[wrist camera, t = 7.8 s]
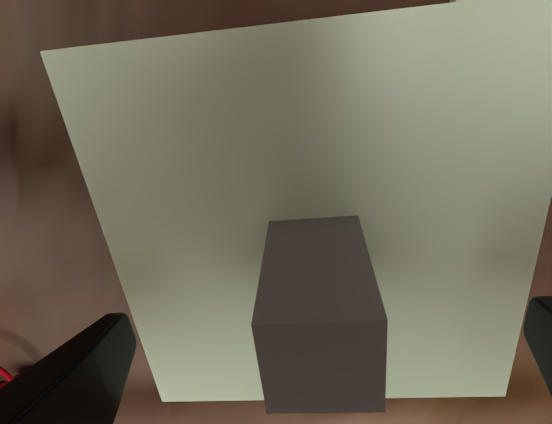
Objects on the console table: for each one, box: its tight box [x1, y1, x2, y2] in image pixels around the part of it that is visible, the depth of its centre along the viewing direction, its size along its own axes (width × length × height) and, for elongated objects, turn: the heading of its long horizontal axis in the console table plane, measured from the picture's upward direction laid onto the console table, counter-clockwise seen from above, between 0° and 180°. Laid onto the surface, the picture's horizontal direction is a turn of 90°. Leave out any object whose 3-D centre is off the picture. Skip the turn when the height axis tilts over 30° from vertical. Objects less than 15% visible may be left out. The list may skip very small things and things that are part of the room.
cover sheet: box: [40, 0, 552, 414], centre depth 9 cm, size 12×12×5 cm
